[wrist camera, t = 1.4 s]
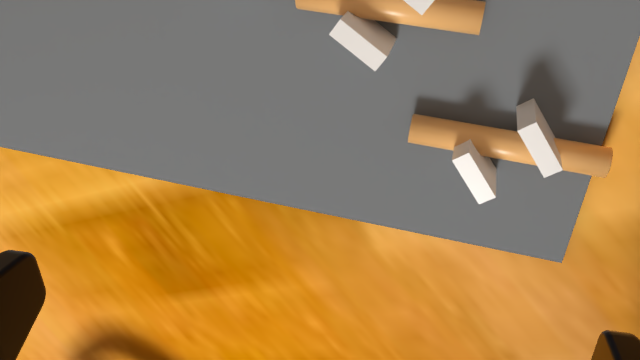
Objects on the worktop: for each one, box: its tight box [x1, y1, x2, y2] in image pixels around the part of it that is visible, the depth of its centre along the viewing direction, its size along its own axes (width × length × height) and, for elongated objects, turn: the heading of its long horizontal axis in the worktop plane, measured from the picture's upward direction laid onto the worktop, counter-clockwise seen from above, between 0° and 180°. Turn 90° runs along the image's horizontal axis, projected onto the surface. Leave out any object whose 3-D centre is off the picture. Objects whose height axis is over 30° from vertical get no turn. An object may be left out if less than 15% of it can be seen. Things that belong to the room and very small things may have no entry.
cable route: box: [295, 0, 613, 204], centre depth 19 cm, size 16×5×2 cm, turn 53°
